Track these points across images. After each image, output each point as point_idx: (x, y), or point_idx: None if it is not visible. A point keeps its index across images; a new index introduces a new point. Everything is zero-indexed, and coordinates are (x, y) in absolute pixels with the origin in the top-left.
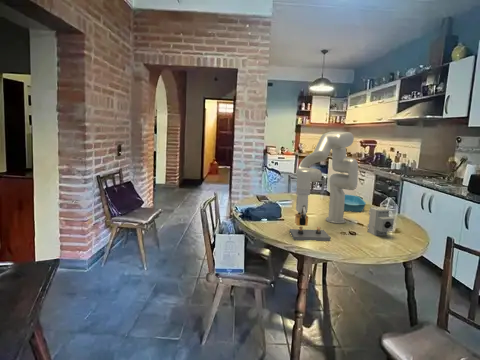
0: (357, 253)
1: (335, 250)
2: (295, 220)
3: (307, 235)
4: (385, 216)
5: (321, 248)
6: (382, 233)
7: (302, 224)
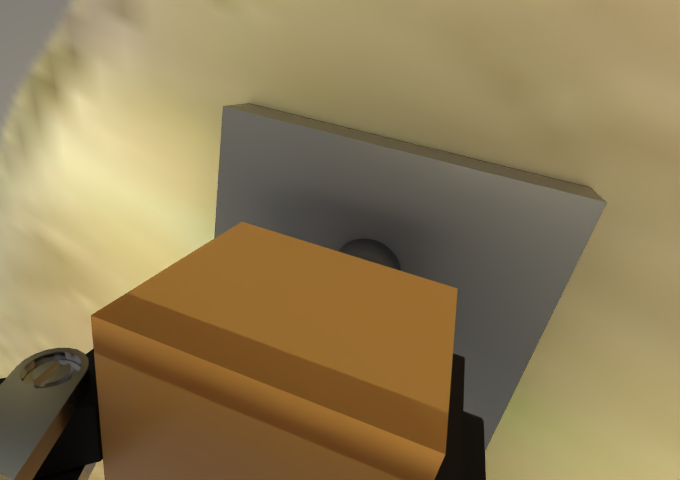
0: None
1: (39, 335)
2: (389, 300)
3: None
4: None
5: (58, 264)
6: None
7: None
